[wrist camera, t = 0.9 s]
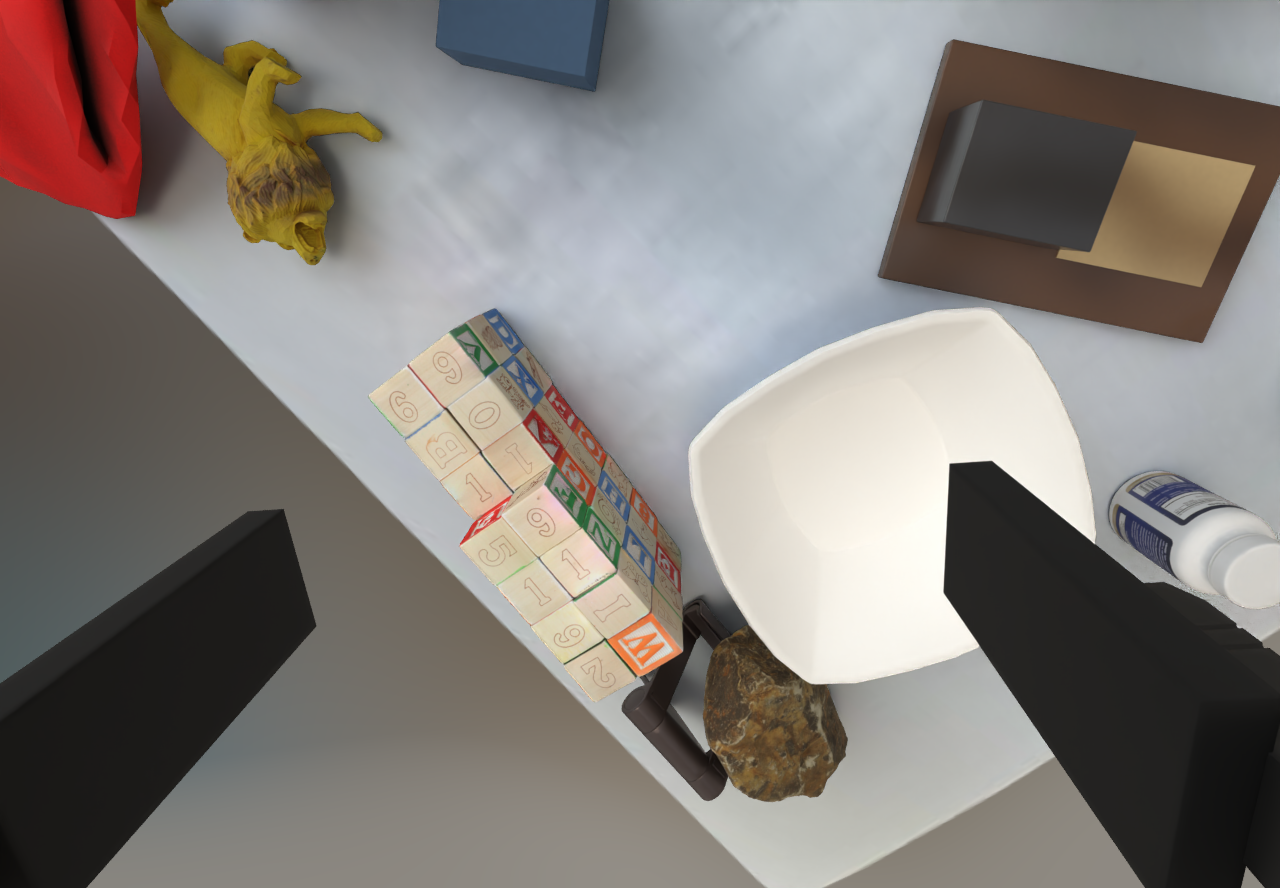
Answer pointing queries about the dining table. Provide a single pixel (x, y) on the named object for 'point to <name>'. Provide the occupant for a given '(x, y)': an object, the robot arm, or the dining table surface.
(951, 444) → the bowl
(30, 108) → the cloth
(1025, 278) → the backing board
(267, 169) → the toy
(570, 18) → the blue rectangular block
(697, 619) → the tablet stand
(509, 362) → the stack of blocks
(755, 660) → the rock
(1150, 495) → the pill bottle
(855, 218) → the dining table surface
